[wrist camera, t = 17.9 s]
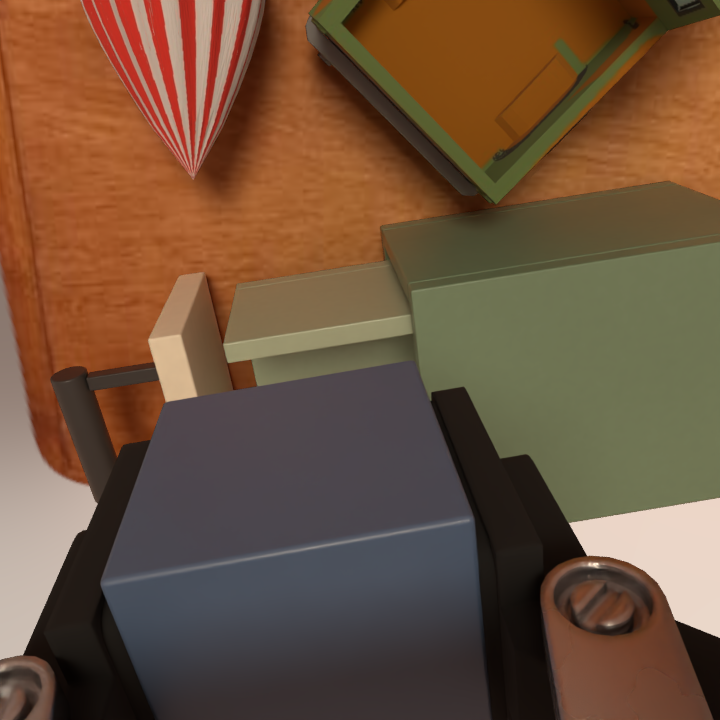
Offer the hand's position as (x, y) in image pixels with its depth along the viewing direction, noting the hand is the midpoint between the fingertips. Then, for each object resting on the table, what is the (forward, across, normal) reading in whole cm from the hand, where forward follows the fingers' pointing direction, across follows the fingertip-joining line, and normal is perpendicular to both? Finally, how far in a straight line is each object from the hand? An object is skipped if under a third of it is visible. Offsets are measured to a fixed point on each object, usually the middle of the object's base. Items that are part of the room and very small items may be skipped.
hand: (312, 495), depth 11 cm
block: (0, 0, 0) cm, 0 cm away
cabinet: (+22, -10, +7) cm, 25 cm away
